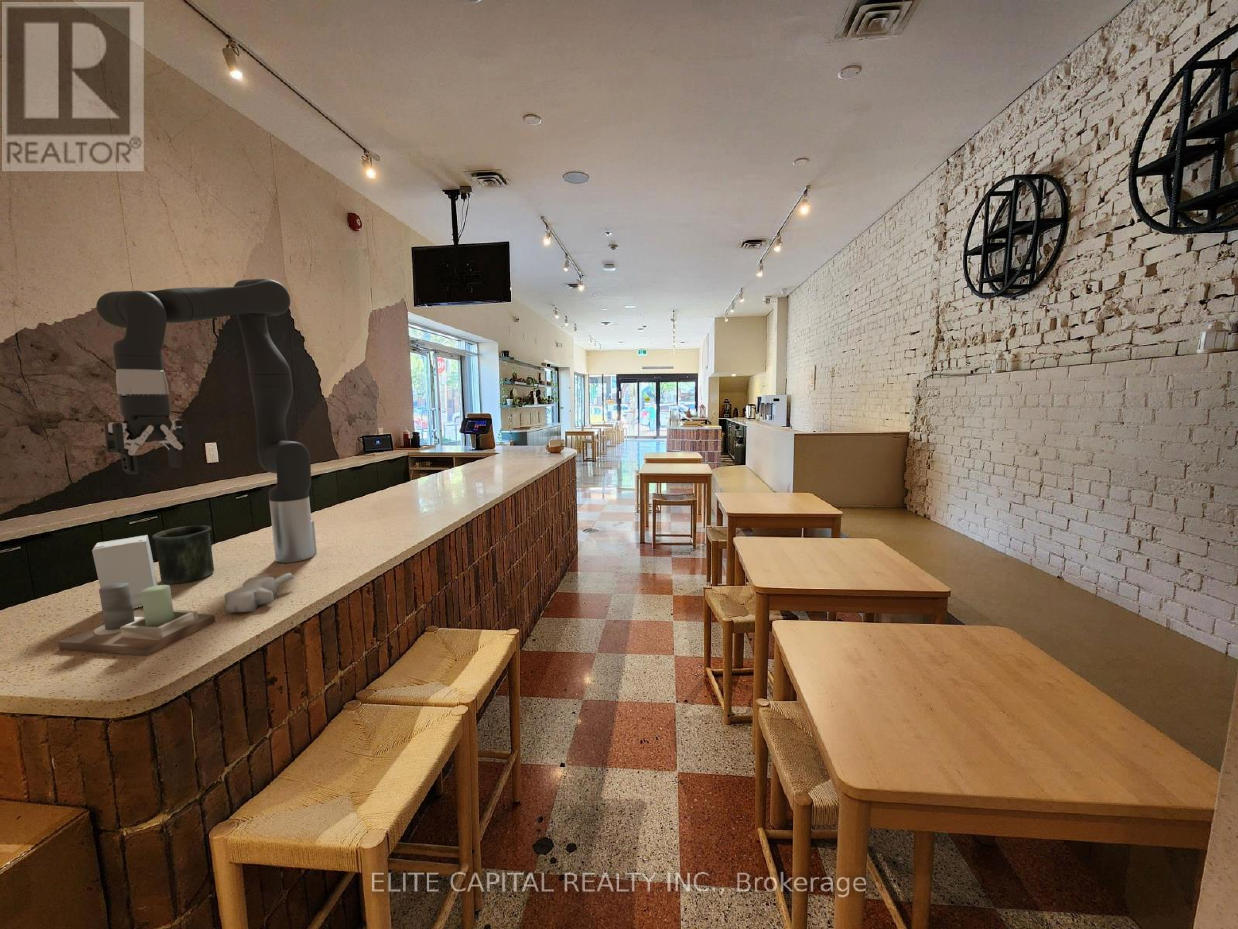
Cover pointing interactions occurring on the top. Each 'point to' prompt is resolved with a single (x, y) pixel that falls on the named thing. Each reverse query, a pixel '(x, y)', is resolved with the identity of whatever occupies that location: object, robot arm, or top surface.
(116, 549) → the skincare box
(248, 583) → the bunny figurine
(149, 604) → the green pin
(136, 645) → the board
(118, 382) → the robot arm
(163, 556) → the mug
